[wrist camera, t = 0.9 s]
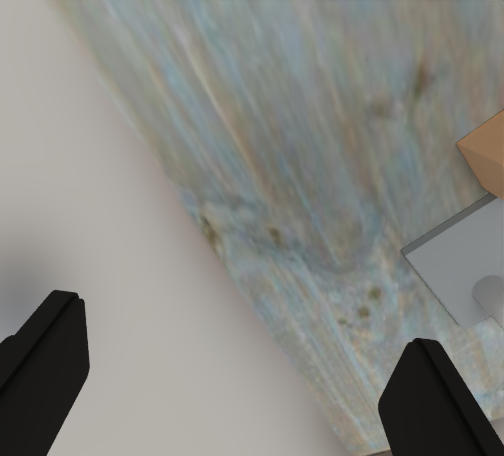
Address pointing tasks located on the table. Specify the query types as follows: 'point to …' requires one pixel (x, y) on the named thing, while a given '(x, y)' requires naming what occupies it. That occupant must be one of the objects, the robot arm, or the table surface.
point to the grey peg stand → (466, 262)
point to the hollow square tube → (487, 154)
